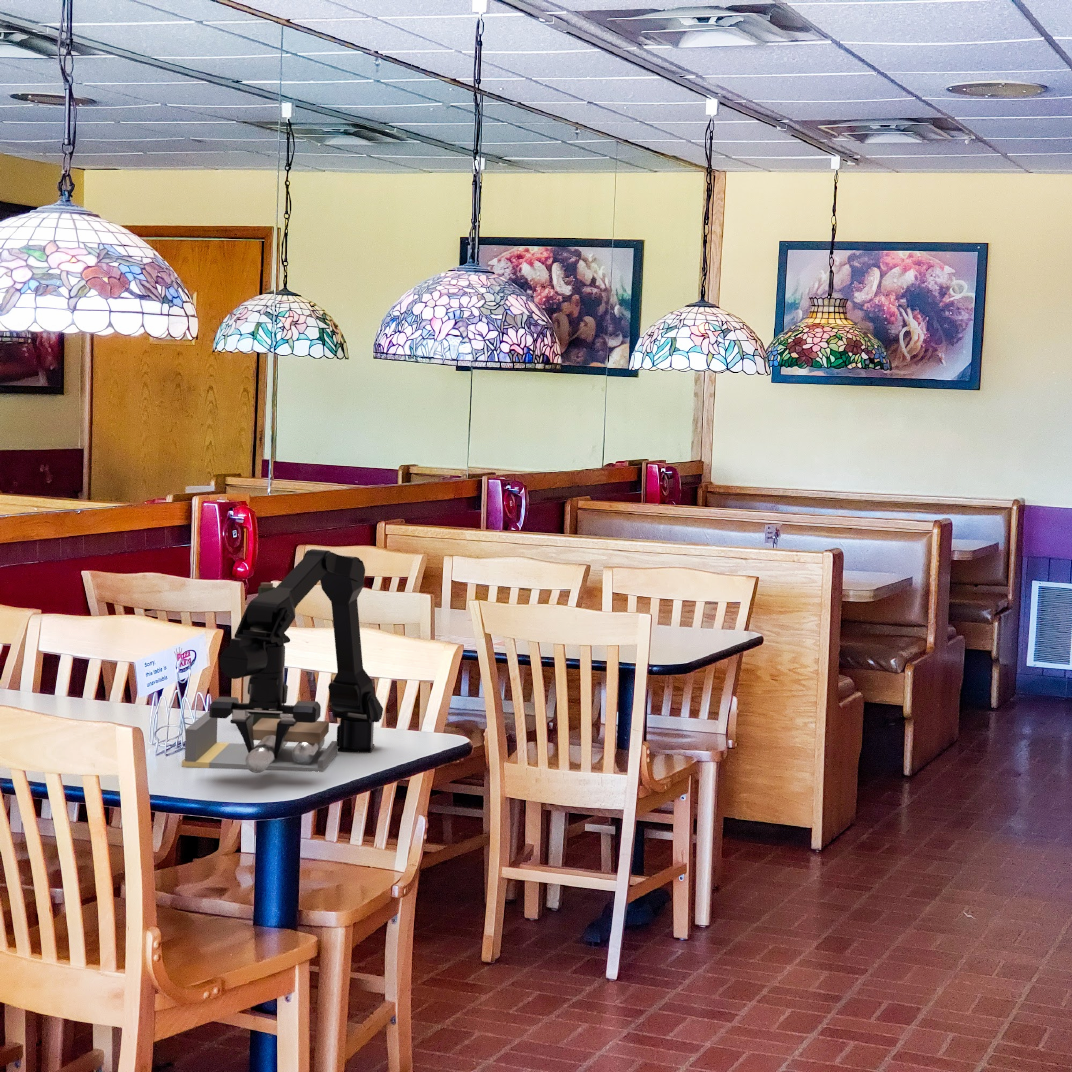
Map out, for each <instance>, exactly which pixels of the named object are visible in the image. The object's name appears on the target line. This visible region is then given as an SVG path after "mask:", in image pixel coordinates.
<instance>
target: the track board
mask: <svg viewBox="0 0 1072 1072" xmlns="http://www.w3.org/2000/svg"><path fill="white" fill-rule="evenodd" d="M184 738H185V739H184V740H185V741H184V747H185V749H184V758H183V760H182V761H181V767H184V768H201V769H202V768H203V769H220V770H221V769H222V770H223V769H225V770H227V769H228V770H230V769H231V770H249V769H248V768H247V766H246V763H245V760H246V757H247V755H248V754H249V753H248V750H247V747H246V745H245V743H234V742H232V743H231V742H218V718H211V717H209V711H207V712H205V713H204V714H202V715H201V716H200V717H199V718H198V719H196V720H195V721H194V722H193V723H191V724H190V725H189V726H187V728H185V737H184ZM256 745H257V744H255V743H254V747H255V746H256ZM295 746H296V745H295ZM295 746H292V745H291V746H289V745H285V747H284V748H283V749H282V750H281V752H280V753H279V756H278V758H277V759H274V760H273V761H272V763H271V764H270V765H269V766H268V767H267V768H266V770H265V771H288V772H312V771H315V772H316V773H317V772H318V771H319V772H321V773H323V772H324V771H325V770H326V768H328V766H329V765H330V764H331V762H332V761H333V760H334V758H335V757H336V755H338V747H337V740H332V741H331V742H330V743H329V745H328V746H327V747H322V748H321V749H320V750H319V752H318V753H317V754H316V756H315V757H314V758H313V760H312V761H311V762H310V763H309V764H306V765H300V764H297V763H296V762H295V761H294V760H293V757H292V751H293V749H294V748H295ZM332 759H333V760H332Z"/></svg>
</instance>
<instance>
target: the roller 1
mask: <svg viewBox="0 0 1072 1072" xmlns="http://www.w3.org/2000/svg"><path fill="white" fill-rule="evenodd" d="M275 739H276V736H274V735H268V736H266V737H264V738H263V739H262V740H259V742H258V743H257V744H256V746H255V747H254V749H253V750H252V751H251V752H250V753H249V754H248V755H247V757H246V760H245V763H246V766H247V768H248V769H247V770H248V771H250V772H251V773H253V774H260V773H264V771H267V770H266V768H267V767H268V766H269V765H270V764H271V763H272V761H273V760H274V759H275V755H274V749H275ZM281 750H282V747H281ZM281 750H280V752H281Z"/></svg>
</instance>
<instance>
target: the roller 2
mask: <svg viewBox="0 0 1072 1072" xmlns="http://www.w3.org/2000/svg"><path fill="white" fill-rule="evenodd" d="M325 741H326V739H325V737H324V739H323V740H322V741H321V742H320V743H300V742H297V744H296V745H295V748H294V749H293V751H292V757H293V760H294V761H295V762H296V763H297V764H300V765H306V764H309V763H310V762H311V761H312V760H313V758H314V757H315V756H316V754H317V753H318V752H319V750H320V749H321V748H323V746H324V745H325Z"/></svg>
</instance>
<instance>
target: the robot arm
mask: <svg viewBox="0 0 1072 1072" xmlns="http://www.w3.org/2000/svg"><path fill="white" fill-rule="evenodd" d="M365 575H366V567H365V565H364V562H363V560H361V559H360V557H358V556H350V555H342V554H337V553H335V552H332V551H331V550H328V549H327V550H326V549H315V548H312V549H308V550H306V551H305V552H304V555H303V558H302V559H301V560H300V561H299V562H298V564H296V566H295V567H294V568H292V570H291V571H289V573H288V574H287V575H286V576H285V577H284V578H283V579H282V580H281V582H279V583H278V585H276V587H275V588H274V589H273V590H270V591H267V592H264V593H261V594H260V595H258V594H257V596H255V597H254V598H253V599H251V600H250V601H249V603H248V604H247V606H246V607H245V609H244V613H243V615H242V617H241V620H240V621H239V624H238V627H237V629H236V630H235V634H234V636H233V638H231V639H230V641H229V643H230V644H229V646H227V647H225V648H224V649H223V651H222V652H221V655H220V657H219V666H220V670H221V671H222V673H223V674H224V675H225V676H226V677H228V679H233V680H236V679H237V680H238V679H241V678H244V677H246V676H250V678H249V683H248V694H249V695H250V697H249V703H243V702H240V700H239V697H234V696H233V697H232V696H218V697H217V698H216V699H214V700H213V701H212V702H211V703H210V704H209V711H208V712H209V717H211V718H217V719H227V718H229V716H231V719H230V723H231V724H233V725H234V724H235V726H236V727H237V729H238V731H239V733H240V735H241V737H242V740H243V741H244V744H245V745H246V747H247V750H248V753H250V752H251V751H252V750H253V749H254V744H255V740H254V738H253V716H254V715H251V714H262V715H280V718H281V720H280V721H279V722H278V723H277V730H276V739H275V749H274V755H275V759H277V758H278V756H279V753H280V750H281V747H282V745H283V742H284V739H285V736H286V734H287V732H288V730H289V728H290V727H292V726H295V724H296V723H297V722H305V723H314V722H316V721H319V718H321V711H322V710H321V708H322V707H321V704H320V703H319V701H318V700H317V701H314V700H298V701H296V703H295V704H294V705H291V704H290V705H289V704H287V701H288V691H289V690H288V689H289V686H288V685H287V684H286V683H285V680H284V681H283V660H284V646H285V644H289V643H290V642H291V638H290V637H289V636H288V635H287V634H286V632H287V631H288V630H289V628H290V627H291V625H292V623H293V622H294V621H295V618H296V608H297V607H298V605H299V604H300V603H301V602H302V600H304V598H305V597H306V596H307V595H308V594H309V593H310V592H311V591H312V590H313V588H315V587H316V586H317V584H318V583H319V581H320V586H321V590H322V591H323V593H324V594H325V595H326V597H327V598H328V599H329V601H330V603H331V614H332V624H333V635H334V647H335V657H336V658H335V659H336V668H337V670H336V671H337V672H336V675H335V677H333V680H332V681H331V682H330V683H329V684H328V687H327V688H328V691H329V692H328V693H329V699H328V702H329V703H330V708H331V713H332V718H334V719H339V722H340V723H339V724H338V725H337V727H336V741H337V753H338V752H339V753H353V754H354V753H356V754H357V753H358V754H361V753H362V754H370V753H372V751H373V749H374V748H375V744H374V730H375V729H374V726H375V725H374V724H375V723H380V721H381V720H382V717H383V713H384V707H383V706H382V704H381V702H380V700H379V699H378V697H377V696H376V693H375V690H374V683H373V680H372V678H371V677H370V676H369V674H368V673H367V672H366V670H365V669H364V667H363V665H364V663H363V656H362V655H363V654H362V653H363V650H362V643H361V641H362V640H361V631H360V630H361V629H360V617H359V607H358V606H359V605H358V598H359V595H360V593H361V592H362V590H363V588H364V587H365ZM258 631H260V632H258ZM267 632H268V633H267ZM282 704H283V705H282ZM259 709H260V710H259ZM269 709H272V710H269ZM273 709H274V710H273Z"/></svg>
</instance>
